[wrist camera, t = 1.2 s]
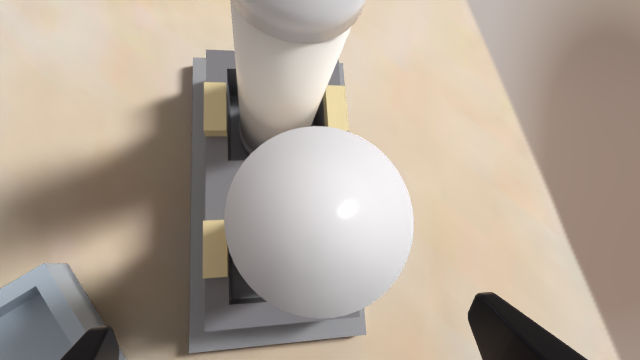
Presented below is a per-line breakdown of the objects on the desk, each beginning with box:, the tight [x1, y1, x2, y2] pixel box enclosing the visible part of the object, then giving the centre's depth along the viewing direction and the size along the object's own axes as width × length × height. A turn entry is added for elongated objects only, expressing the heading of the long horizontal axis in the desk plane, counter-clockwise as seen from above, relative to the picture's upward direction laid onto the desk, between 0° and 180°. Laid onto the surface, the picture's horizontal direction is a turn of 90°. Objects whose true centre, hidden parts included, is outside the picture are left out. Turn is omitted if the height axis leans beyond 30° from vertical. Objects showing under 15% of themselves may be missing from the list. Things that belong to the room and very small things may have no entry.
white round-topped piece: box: [224, 126, 414, 319], centre depth 13 cm, size 4×4×13 cm
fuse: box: [231, 0, 366, 156], centre depth 15 cm, size 4×4×13 cm
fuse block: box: [189, 50, 366, 353], centre depth 19 cm, size 16×9×5 cm, turn 4°
